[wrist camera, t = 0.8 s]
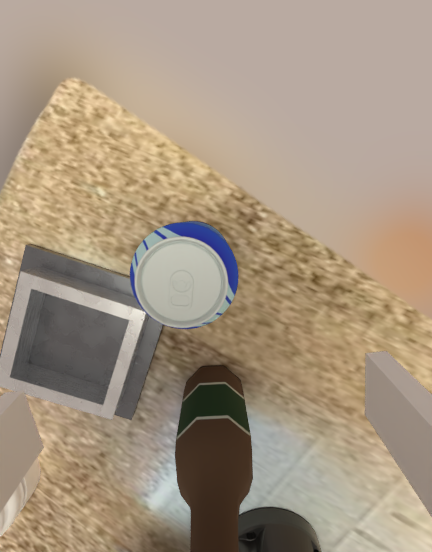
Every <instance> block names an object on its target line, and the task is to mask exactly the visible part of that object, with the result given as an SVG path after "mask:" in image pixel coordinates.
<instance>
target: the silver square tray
mask: <svg viewBox="0 0 432 552" xmlns="http://www.w3.org/2000/svg"><path fill="white" fill-rule="evenodd" d="M162 327H163V324H161V323H159V322H157V321H156V320H154V319H153V318H151V317H150V316H149V315H148V314H147V313H146V312H145V311H144V310H143V309H142V308H141V306H140V305H139V304H138V302H137V300H136V298H135V296H134V294H133V291H132V287H131V281H130V277H129V276H126V275H123V274H120V273H117V272H114V271H111V270H108V269H105V268H102V267H99V266H96V265H93V264H90V263H87V262H84V261H81V260H78V259H75V258H72V257H69V256H66V255H63V254H60V253H57V252H54V251H51V250H47V249H44V248H41V247H38V246H35V245H32V244H27V245H26V247H25V251H24V255H23V259H22V264H21V268H20V272H19V277H18V281H17V285H16V289H15V294H14V298H13V302H12V307H11V311H10V315H9V319H8V324H7V328H6V332H5V337H4V341H3V345H2V349H1V354H0V387H3V388H6V389H10V390H13V391H24V393H25V394H27V395H30V396H33V397H37V398H40V399H43V400H47V401H50V402H54V403H57V404H60V405H64V406H67V407H70V408H74V409H77V410H80V411H84V412H87V413H91V414H94V415H97V416H101V417H104V418H107V419H111V420H112V419H113V417H114V415H117V416H120V417H123V418H127V419H130V420H132V417H133V415H134V412H135V409H136V406H137V403H138V400H139V397H140V394H141V391H142V388H143V385H144V381H145V378H146V375H147V372H148V369H149V366H150V363H151V360H152V357H153V354H154V351H155V348H156V345H157V342H158V339H159V336H160V333H161V330H162Z"/></svg>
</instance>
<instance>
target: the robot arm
mask: <svg viewBox="0 0 432 552" xmlns="http://www.w3.org/2000/svg"><path fill="white" fill-rule="evenodd" d="M365 415H366V417H367V418H368V420H369V422H370V423H371V425H372V426H373V428H374V429H375V431H376V432H377V434H378V435H379V437H380V438H381V440H382V441H383V443H384V445H385V446H386V448H387V449H388V451H389V452H390V454H391V455H392V457H393V458H394V460H395V461H396V463H397V464H398V466H399V467H400V469H401V471H402V472H403V474H404V475H405V477H406V478H407V480H408V481H409V483H410V484H411V486H412V487H413V489H414V490H415V492H416V494H417V495H418V497H419V498H420V500H421V501H422V503H423V504H424V506H425V507H426V509H427V510H428V512H429V513H430V515H431V516H432V394H431V393H430V392H429V391H428V390H426V389H425V388H424V387H423V386H422V385H421V384H420V383H419V382H418V381H417V380H416V379H415V378H414V377H413V376H412V375H411V374H410V373H409V372H408V371H407V370H406V369H405V368H404V367H403V366H402V365H401V364H400V363H398V362H397V361H396V360H395V359H394V358H393V357H392V356H391V355H390V354H389V353H388V352H387V351H382V352H372V353H366V366H365ZM43 448H44V446H43V444H42V441H41V438H40V435H39V432H38V429H37V427H36V424H35V421H34V418H33V415H32V412H31V410H30V407H29V404H28V401H27V398H26V395H25V393H24V391H15V392H6V393H4V394H3V395H2V396H1V397H0V513H1V511H2V510H3V508H4V507H5V505H6V503H7V502H8V500H9V499H10V497H11V496H12V494H13V493H14V491H15V490H16V488H17V487H18V485H19V484H20V482H21V481H22V479H23V478H24V476H25V475H26V473H27V472H28V470H29V469H30V467H31V466H32V464H33V463H34V461H35V460H36V458H37V457H38V455H39V454H40V452H41V451H42V449H43ZM238 544H239V552H322V551H321V548H320V545H319V542H318V539H317V536H316V534H315V532H314V530H313V528H312V527H311V526H310V525H309V523H308V522H307V521H305V520H304V519H303V518H302V517H300V516H298V515H297V514H295V513H292V512H290V511H287V510H283V509H277V508H263V509H257V510H253V511H250V512H247V513H245V514H243V515H241V516H239V517H238Z"/></svg>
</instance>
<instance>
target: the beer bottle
mask: <svg viewBox="0 0 432 552" xmlns="http://www.w3.org/2000/svg"><path fill="white" fill-rule="evenodd" d="M175 459H176V471H177V483H178V486H179V490H180V493H181V496H182V497H183V499H184V500H185V501H186V503H187V504H188V505H189V507H190V509H191V545H190V552H239V544H238V517H239V507H240V504H241V503H242V501H243V500H244V498H245V497H246V496H247V494H248V493H249V490H250V487H251V483H252V479H253V471H252V446H251V435H250V429H249V423H248V417H247V412H246V406H245V400H244V395H243V389H242V384H241V381H240V379H239V378H237V377H236V376H235V375H234V374H233V373H232V372H230V371H229V370H228V369H227V368H226V367H224V366H209V367H201V368H200V369H199V370H198V371H197V372H196V373H195V374H194V375H193V376H192V377H191V378H190V379H189V380H188V381H187V382H186V386H185V390H184V396H183V402H182V408H181V414H180V420H179V426H178V432H177V438H176V450H175Z"/></svg>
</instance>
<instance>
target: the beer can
mask: <svg viewBox="0 0 432 552" xmlns="http://www.w3.org/2000/svg"><path fill="white" fill-rule="evenodd" d="M130 281H131V287H132V291H133V294H134V296H135V298H136V300H137V302H138V304H139V305H140V306H141V308H142V309H143V310H144V311H145V312H146V313H147V314H148V315H149V316H150V317H151V318H153V319H154V320H156V321H157V322H159V323H161V324H163V325H165V326H169V327H172V328H178V329H192V328H198V327H201V326H204V325H207V324H209V323H211V322H213V321H214V320H216V319H217V318H218V317H220V316H221V315H222V314H223V313H224V312H225V311H226V310H227V308H228V307H229V306H230V304H231V302H232V300H233V298H234V296H235V293H236V290H237V285H238V267H237V263H236V260H235V257H234V254H233V252H232V250H231V249H230V247H229V245H228V244H227V242H226V240H225V239H224V237H223V236H222V234H221V233H220V232H219V231H218V230H217V229H215V228H214V227H212V226H211V225H208V224H206V223H203V222H198V221H189V222H180V223H173V224H169V225H166V226H163V227H161V228H159V229H157V230H155V231H154V232H152V233H151V234H150V235H148V236H147V237H146V238H145V239H144V240H143V241H142V243H141V244H140V245H139V247H138V248H137V250H136V252H135V254H134V257H133V260H132V263H131V268H130Z"/></svg>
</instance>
